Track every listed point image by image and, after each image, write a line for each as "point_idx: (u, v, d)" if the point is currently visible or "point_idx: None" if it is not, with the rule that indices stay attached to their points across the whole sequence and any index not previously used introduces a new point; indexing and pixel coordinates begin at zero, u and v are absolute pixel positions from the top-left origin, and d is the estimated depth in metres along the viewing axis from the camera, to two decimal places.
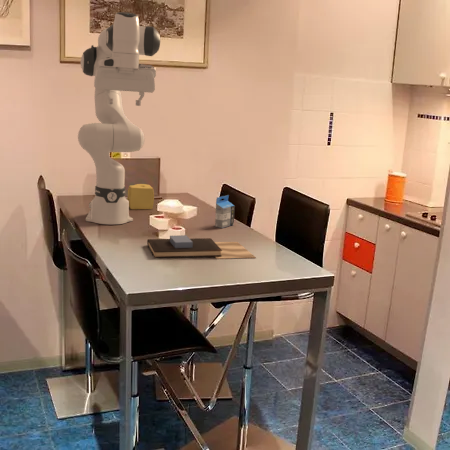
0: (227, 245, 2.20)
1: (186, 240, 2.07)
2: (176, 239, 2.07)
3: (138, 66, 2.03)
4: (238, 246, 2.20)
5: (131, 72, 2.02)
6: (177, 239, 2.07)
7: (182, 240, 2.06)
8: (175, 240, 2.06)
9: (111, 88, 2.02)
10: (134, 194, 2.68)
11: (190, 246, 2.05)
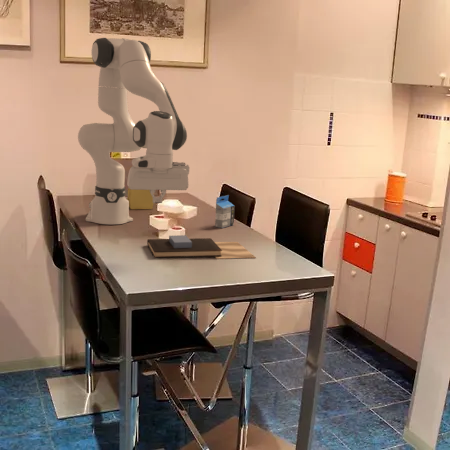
0: (227, 245, 2.20)
1: (185, 240, 2.07)
2: (175, 239, 2.07)
3: (172, 165, 2.00)
4: (238, 246, 2.20)
5: (165, 172, 1.98)
6: (176, 239, 2.07)
7: (181, 240, 2.06)
8: (174, 240, 2.06)
9: (145, 188, 1.99)
10: (134, 194, 2.68)
11: (189, 246, 2.05)
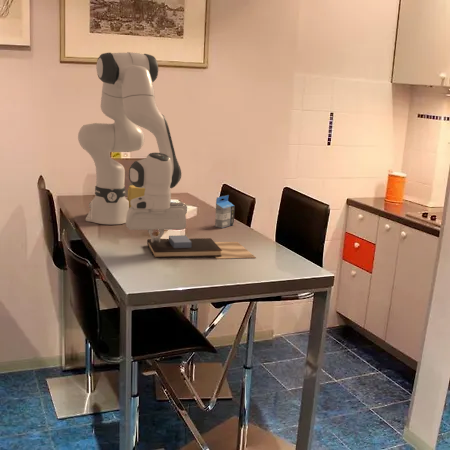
0: (227, 245, 2.20)
1: (185, 240, 2.07)
2: (175, 239, 2.07)
3: (170, 205, 2.03)
4: (238, 246, 2.20)
5: (163, 212, 2.02)
6: (176, 239, 2.07)
7: (181, 240, 2.06)
8: (174, 240, 2.06)
9: (143, 228, 2.02)
10: (134, 194, 2.68)
11: (189, 246, 2.05)
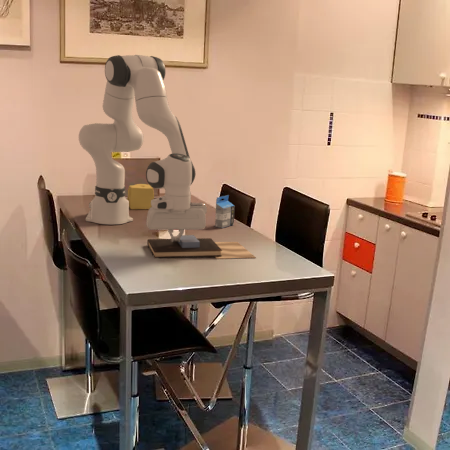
0: (227, 245, 2.20)
1: (193, 240, 2.07)
2: (183, 239, 2.08)
3: (190, 205, 2.05)
4: (238, 246, 2.20)
5: (183, 212, 2.03)
6: (184, 239, 2.08)
7: (189, 240, 2.07)
8: (182, 240, 2.07)
9: (163, 228, 2.04)
10: (134, 194, 2.68)
11: (197, 246, 2.06)
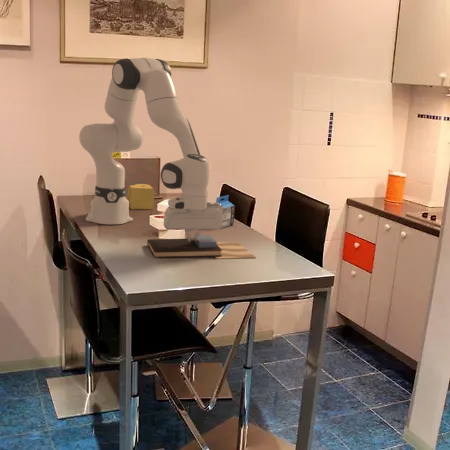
0: (227, 245, 2.20)
1: (210, 240, 2.09)
2: (200, 239, 2.09)
3: (207, 205, 2.07)
4: (238, 246, 2.20)
5: (200, 212, 2.05)
6: (201, 239, 2.10)
7: (206, 240, 2.09)
8: (199, 240, 2.08)
9: (181, 228, 2.05)
10: (134, 194, 2.68)
11: (214, 246, 2.08)
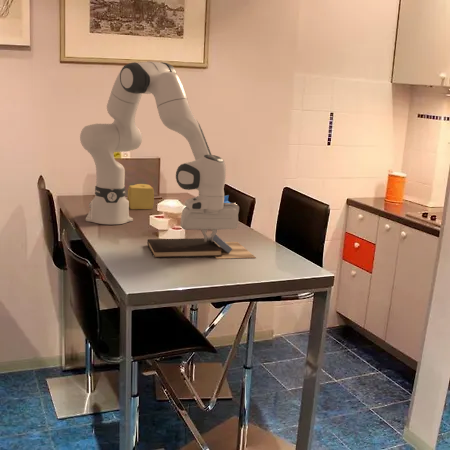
0: None
1: (227, 244, 2.11)
2: None
3: (223, 206, 2.09)
4: (238, 246, 2.20)
5: (217, 212, 2.07)
6: None
7: (224, 242, 2.11)
8: (219, 238, 2.10)
9: (197, 228, 2.07)
10: (134, 194, 2.68)
11: (228, 251, 2.10)
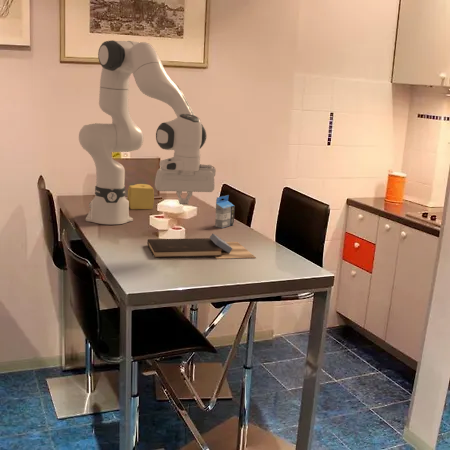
0: None
1: (227, 244, 2.11)
2: (219, 238, 2.12)
3: (199, 167, 2.03)
4: (238, 246, 2.20)
5: (192, 174, 2.02)
6: (219, 239, 2.12)
7: (224, 242, 2.11)
8: (218, 238, 2.10)
9: (172, 190, 2.02)
10: (134, 194, 2.68)
11: (228, 251, 2.10)
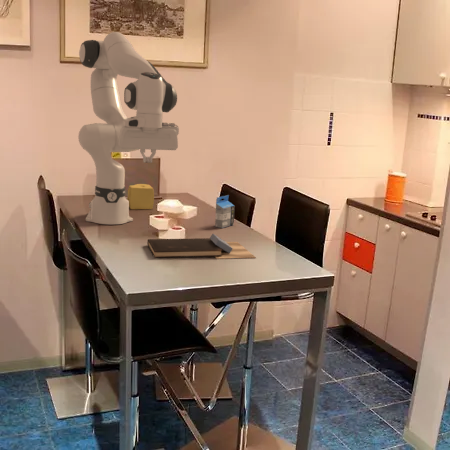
0: None
1: (227, 244, 2.11)
2: (219, 238, 2.12)
3: (162, 125, 2.06)
4: (238, 246, 2.20)
5: (155, 131, 2.04)
6: (219, 239, 2.12)
7: (224, 242, 2.11)
8: (218, 239, 2.10)
9: (135, 147, 2.04)
10: (134, 194, 2.68)
11: (228, 251, 2.10)
